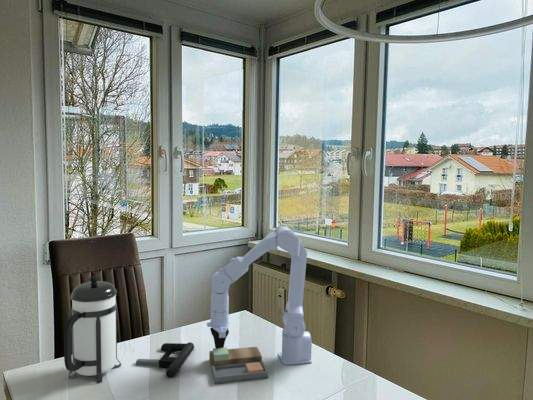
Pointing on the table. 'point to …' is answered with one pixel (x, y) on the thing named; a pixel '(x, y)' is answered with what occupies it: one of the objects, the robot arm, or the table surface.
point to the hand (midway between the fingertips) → (219, 350)
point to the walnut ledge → (238, 356)
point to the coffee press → (92, 330)
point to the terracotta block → (254, 367)
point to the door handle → (170, 358)
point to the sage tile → (220, 354)
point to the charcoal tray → (236, 373)
